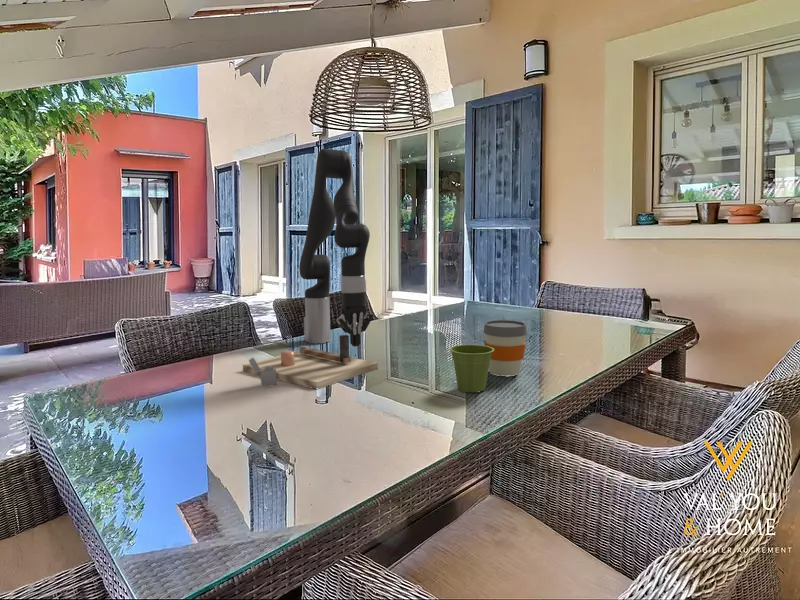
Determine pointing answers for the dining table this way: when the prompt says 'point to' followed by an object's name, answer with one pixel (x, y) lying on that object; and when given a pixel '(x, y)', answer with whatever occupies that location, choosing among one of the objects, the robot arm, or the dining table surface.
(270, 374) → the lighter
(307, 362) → the board
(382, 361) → the dining table surface
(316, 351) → the lever
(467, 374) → the plant pot
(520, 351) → the reusable coffee cup
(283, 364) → the peach rounded cube
